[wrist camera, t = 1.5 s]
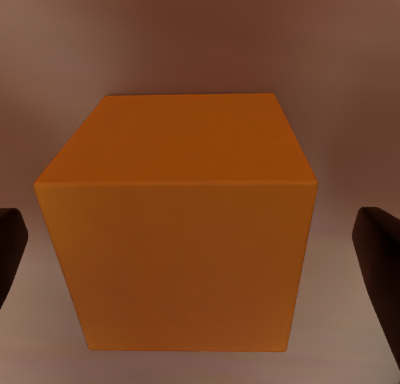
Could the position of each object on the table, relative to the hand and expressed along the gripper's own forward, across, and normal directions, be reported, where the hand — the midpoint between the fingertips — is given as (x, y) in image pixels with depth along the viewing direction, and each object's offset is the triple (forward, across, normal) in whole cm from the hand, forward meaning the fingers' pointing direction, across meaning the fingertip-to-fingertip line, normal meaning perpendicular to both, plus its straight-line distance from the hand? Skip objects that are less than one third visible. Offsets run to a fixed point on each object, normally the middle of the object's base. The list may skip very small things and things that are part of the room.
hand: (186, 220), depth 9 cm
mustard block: (+3, 0, 0) cm, 3 cm away
